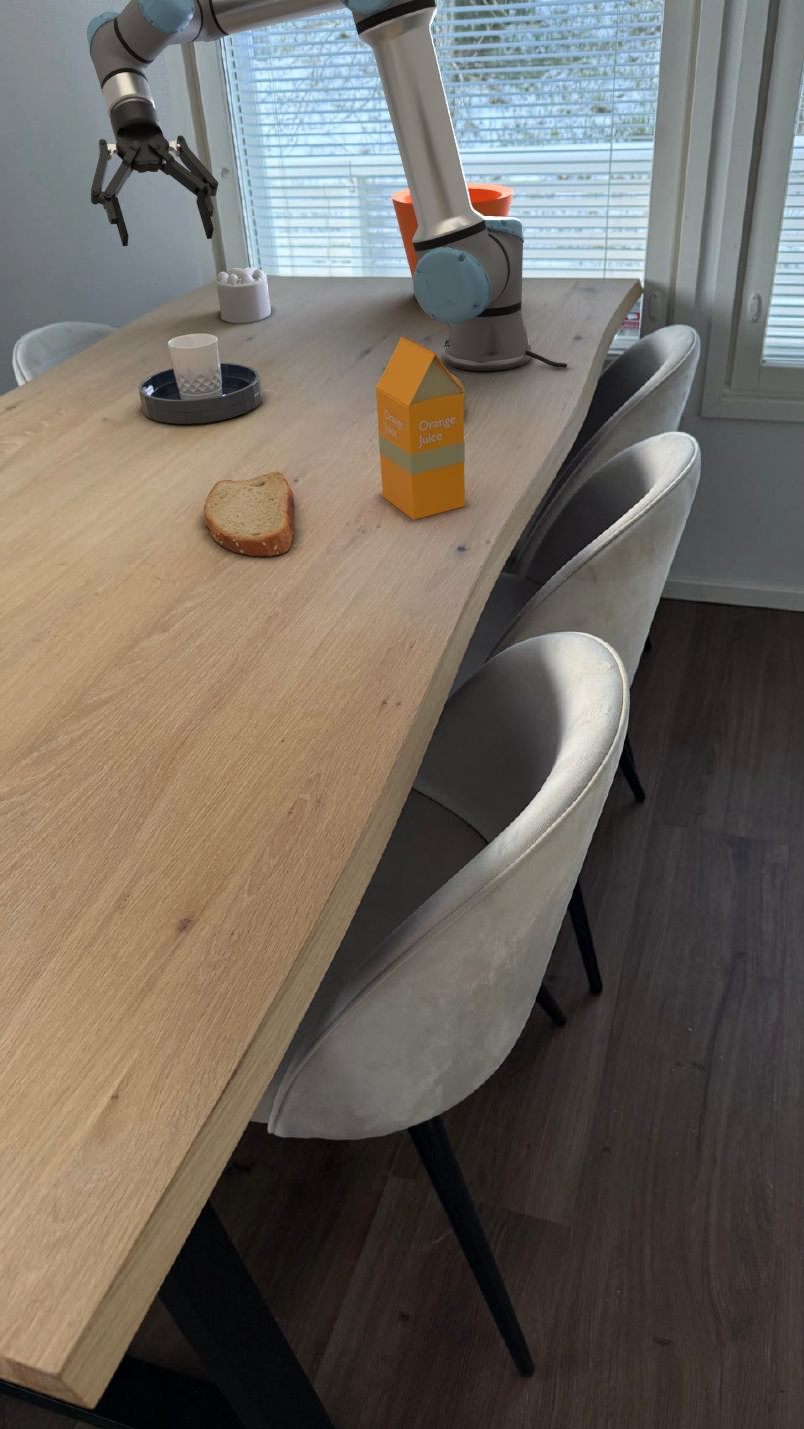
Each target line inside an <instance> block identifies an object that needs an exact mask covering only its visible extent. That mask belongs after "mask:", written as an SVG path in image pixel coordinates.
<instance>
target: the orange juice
mask: <svg viewBox="0 0 804 1429" xmlns="http://www.w3.org/2000/svg"><path fill="white" fill-rule="evenodd" d="M450 374H451V373H450V371H449V370H448V369H447V368H446V366H445V365H444V364H443V362H442V361H441V359H440V358H439V356H438V355H437V354H436V351H432V350H430V349H429V348H426V347H425V346H422V345H420V344H419V343H416V342H415V341H412V340H411V339H408V338H406V337H404V336H402V335H400V338H399V341H398V342H397V346H396V347H395V349H394V352H393V353H392V355H391V357H390V359H389V361H388V363H387V364H386V368H385V369H384V371H383V374H382V376H381V377H380V380H379V381H378V383H377V385H375V392H376V409H377V427H378V428H377V429H378V448H379V457H380V458H379V459H380V474H381V491H382V497H383V498H384V499H385V500H387V501H388V502H390V504H392V505H393V506H395V507H396V508H397V509H398V510H400V511H401V512H402V513H403V514H404V515H407V517H409V518H410V519H411V520H414V521H415V520H418V519H419V520H420V519H422V518H426V517H429V516H435V515H438V514H441V513H445V512H449V511H452V510H456V509H459V508H463V507H465V506H466V503H465V502H466V499H465V497H466V493H465V491H466V490H465V489H466V487H465V462H466V461H465V460H466V459H465V458H466V457H465V456H466V455H465V454H466V453H465V451H466V449H465V446H466V445H465V405H464V393H463V392H462V390H461V389H460V387H459V386H458V385H457V383H456V382H455V380H454V379H453V378H452V376H451V375H450Z"/></svg>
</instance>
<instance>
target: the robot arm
mask: <svg viewBox="0 0 804 1429" xmlns="http://www.w3.org/2000/svg"><path fill="white" fill-rule="evenodd" d="M343 9H348V10H349V11H350V12H351V15H352V19H353V22H354V26H355V30H356V34H357V36H358V40H361V41H362V42H363V43H365V44H366V45H368V46H369V47H370V48H371V49H372V52H373V56H374V59H375V63H376V67H377V71H378V75H379V79H380V82H381V87H382V90H383V94H384V98H385V102H386V105H387V110H388V113H389V118H390V121H391V126H392V129H393V134H394V136H395V141H396V144H397V145H396V146H397V149H398V153H399V157H400V160H401V164H402V167H403V172H404V176H405V179H406V183H407V187H408V189H409V191H410V195H411V199H412V203H413V207H414V211H415V215H416V218H417V222H418V228H417V231H416V233H415V235H414V237H413V239H412V241H413V246H414V250H415V254H416V257H417V261H418V263H417V266H416V269H415V272H414V276H413V279H412V287H413V289H412V290H413V292H414V296H415V299H416V301H417V303H418V304H419V306H420V308H421V309H422V310H423V311H424V312H425V313H426V314H427V315H428V316H429V317H431V318H433V319H434V320H436V321H437V322H440V323H442V324H448V325H451V326H450V330H449V333H448V338H447V339H446V340H445V341H444V346H443V347H444V361H445V362H446V364H448V365H449V366H451V367H454V368H455V369H458V370H459V369H460V370H464V371H465V370H466V371H473V372H493V371H494V372H495V371H496V372H497V371H503V370H511V369H515V368H517V367H521V366H523V365H525V364H527V363H528V362H529V361H530V360H531V358H532V359H535V360H538V361H540V362H542V363H544V364H545V365H549V366H550V367H554V368H562V369H567V368H568V363H566V362H556V361H553V360H550V359H548V358H547V357H544V356H542V355H540V354H537V353H535V352H532V346H531V345H532V344H531V342H530V340H529V337H528V333H527V328H526V324H525V321H524V317H523V313H522V311H523V310H522V304H523V300H522V299H523V268H524V266H523V263H524V261H523V260H524V243H525V237H524V225H523V223H522V221H521V220H520V219H518V218H517V217H511V216H508V217H484V216H483V215H481V214H479V213H478V212H476V211H475V210H473V208H472V206H471V203H470V198H469V194H468V190H467V185H466V183H467V182H466V176H465V172H464V169H463V164H462V161H461V154H460V152H459V148H458V147H459V146H458V143H457V139H456V135H455V130H454V126H453V122H452V118H451V113H450V109H449V104H448V100H447V95H446V91H445V87H444V83H443V78H442V75H441V70H440V66H439V62H438V58H437V57H438V56H437V52H436V48H435V45H434V44H435V43H434V40H433V36H432V31H431V24H432V23H433V20H434V18H435V16H436V14H437V11H438V10H437V3H436V0H129V2H128V3H127V5H125V7H124V8H123V9H122V10H121V12H117V11H104V12H102V13H101V14H100V15H95V16H94V17H92V19H91V20H90V21H89V23H88V25H87V28H86V39H87V44H88V48H89V56H90V58H91V61H92V64H93V67H94V69H95V73H96V75H97V80H98V83H99V86H100V89H101V93H102V96H103V100H104V103H105V106H106V110H107V115H108V117H109V121H110V125H111V129H112V132H113V135H114V139H115V143H108V142H107V140H106V139H105V138H104V139H103V138H101V139H99V140H98V161H97V164H96V168H95V172H94V176H93V180H92V185H91V188H90V203H91V204H92V205H98V204H100V205H102V206H103V208H102V209H104V210H105V212H106V216H107V219H108V223H109V224H110V225H116V228H117V231H118V235H119V238H120V241H121V245H122V247H128V246H129V232H128V229H127V225H126V222H125V218H124V216H123V211H122V207H121V205H120V204H121V203H120V200H119V197H118V196H119V193H120V192H121V190H122V189H123V187H124V185H125V184H126V182H127V180H128V178H130V177H131V176H132V173H133V172H134V171H136V172H137V173H138V174H143V173H147V172H150V173H158V172H159V171H161V172H162V173H163V174H165V175H166V176H170V177H171V178H173V179H174V180H175V181H176V182H178V183H179V184H180V185H181V186H183V187H184V188H185V189H187V190H188V191H189V192H191V193H192V194H193V195H194V196H195V197H196V207H197V210H198V212H199V216H200V220H201V222H202V223H201V224H202V226H203V230H204V233H205V236H206V239H207V240H212V239H213V234H214V229H215V227H214V224H213V221H212V217H213V215H214V210H215V209H214V205H213V201H212V197H216V196H217V192H218V188H219V182H218V181H217V179H216V178H215V176H213V174H212V173H211V172H210V171H209V170H208V168H206V166H205V165H204V164H203V162H201V160H200V159H199V157H197V156H196V154H194V152H193V151H192V150H191V148H190V147H189V146H188V143H187V140H186V138H185V137H184V136H183V135H181V134H180V135H178V136H177V137H176V139H174V140H167V138H166V137H165V136H164V133H163V129H162V125H161V123H160V119H159V114H158V112H157V110H156V104H155V102H154V97H153V95H152V91H151V88H150V85H149V81H148V77H147V74H146V69H147V68H148V67H149V66H150V65H151V64H152V63H153V62H155V60H156V59H157V58H158V57H159V56H160V54H162V52H163V51H164V50H166V48H168V47H169V46H173V45H175V46H176V45H182V44H190V43H199V42H204V43H208V42H215V41H219V40H220V39H223V38H225V37H228V36H231V35H235V34H241V33H243V32H248V31H252V30H256V29H261V28H266V27H269V26H274V25H279V24H282V23H288V22H290V21H291V22H292V21H295V20H300V19H305V18H308V17H309V18H310V17H313V16H317V15H322V14H326V13H330V12H335V11H339V10H343ZM170 152H172V153H173V154H174V155H175V157H177V158H179V159H180V161H181V162H182V164H183V165H182V164H181V163H179V162H178V161H177V160H176V159H175V157H174V156H173V154H172V153H170ZM114 155H116V156H117V157H118V158H120V159H121V160H122V161H121V163H120V164H119V166H118V168H117V170H116V171H115V173H114V175H113V176H112V178H111V180H110V182H109V183H108V184H107V186H106V188H105V190H104V191H103V186H104V182H105V179H106V175H107V170H108V167H109V161H111V160H112V159H113V157H114ZM184 166H185V167H184Z"/></svg>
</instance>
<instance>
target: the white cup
mask: <svg viewBox="0 0 804 1429" xmlns="http://www.w3.org/2000/svg"><path fill="white" fill-rule="evenodd" d="M218 340H219V339H218V337H217V336H216V335H214V334H210V333H191V334H184V335H179V336H176V337H173V338H171V339H170V340H169V341H168V342H167V347H168V351H169V355H170V356H169V357H170V359H171V364H172V365H171V366H172V368H173V370H174V374H175V377H176V382H177V386H178V388H179V390H180V391H179V392H180V397H181V400H195V399H204V398H211V397H217V396H221V395H223V394H222V386H221V385H222V379H221V367H220V363H221V358H220V351H219V350H220V348H219V341H218Z"/></svg>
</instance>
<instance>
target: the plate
mask: <svg viewBox="0 0 804 1429" xmlns="http://www.w3.org/2000/svg"><path fill="white" fill-rule="evenodd" d="M220 367H221V379H222V385H221V386H222V394H223V395H221V396H217V397H211V398H204V399H195V400H181V397H180V392H179V391H180V390H179V388H178V386H177V382H176V377H175V374H174V370H173V367H170V368H167V369H165V370H161V371H158V372H156V373H154V374H152V375H149V376H147V377H146V378H144V379H142V381H141V382H140V383H139V385H138V388H137V389H138V393H139V398H140V402H141V408H142V412H143V414H144V415H145V416H146V417H148V418H149V419H151V420H153V421H156V422H162V423H168V424H176V425H177V424H178V425H198V424H200V425H201V424H208V423H214V422H220V421H226V420H229V419H232V418H236V417H238V416H240V415H243V414H246V413H248V412H250V411H251V410H253V409H255V408H257V407H258V406H259V405H260V404H261V402H262V400H263V398H264V397H263V389H262V381H261V375H260V373H259V372H258V370H257V369H255V368H253V367H252V366H248V365H245V364H240V363H233V362H220Z"/></svg>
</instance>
